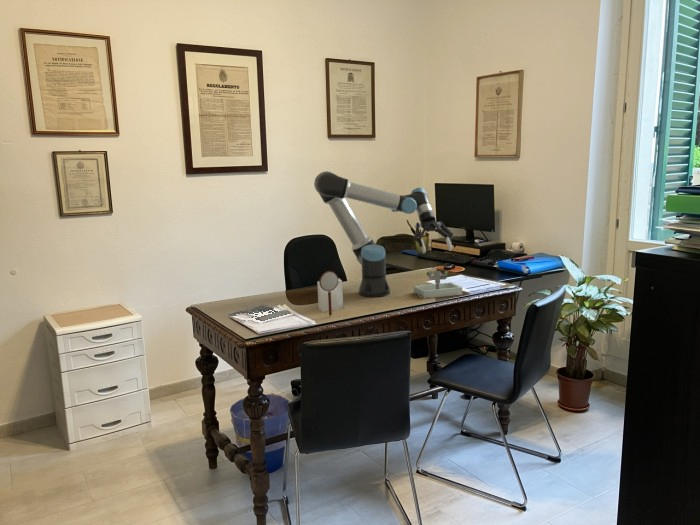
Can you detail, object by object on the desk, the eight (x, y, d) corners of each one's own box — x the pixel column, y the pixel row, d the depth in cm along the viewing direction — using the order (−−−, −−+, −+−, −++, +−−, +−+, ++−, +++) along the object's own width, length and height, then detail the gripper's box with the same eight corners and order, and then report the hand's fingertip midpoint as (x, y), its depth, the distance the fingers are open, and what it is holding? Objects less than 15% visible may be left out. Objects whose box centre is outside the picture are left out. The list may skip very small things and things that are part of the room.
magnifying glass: (338, 314, 240) (336, 269, 237) (340, 315, 239) (338, 270, 235) (320, 318, 237) (318, 272, 233) (322, 319, 235) (319, 272, 231)
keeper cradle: (423, 298, 262) (423, 291, 261) (413, 293, 273) (413, 286, 272) (462, 294, 267) (462, 287, 266) (451, 289, 278) (451, 282, 278)
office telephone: (294, 310, 243) (256, 321, 229) (294, 316, 243) (257, 327, 230) (263, 301, 259) (225, 310, 246) (263, 306, 260) (226, 316, 246)
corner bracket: (339, 303, 260) (338, 278, 257) (345, 309, 249) (344, 283, 247) (317, 305, 257) (315, 280, 255) (322, 311, 246) (321, 285, 244)
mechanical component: (448, 292, 268) (448, 271, 266) (427, 292, 269) (427, 272, 267) (447, 290, 271) (447, 270, 269) (426, 291, 271) (426, 271, 269)
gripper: (446, 217, 284) (459, 252, 274) (400, 221, 278) (411, 257, 268) (451, 208, 278) (464, 243, 268) (404, 212, 272) (415, 248, 262)
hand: (438, 250), depth 268 cm, fingers open, 13 cm apart
